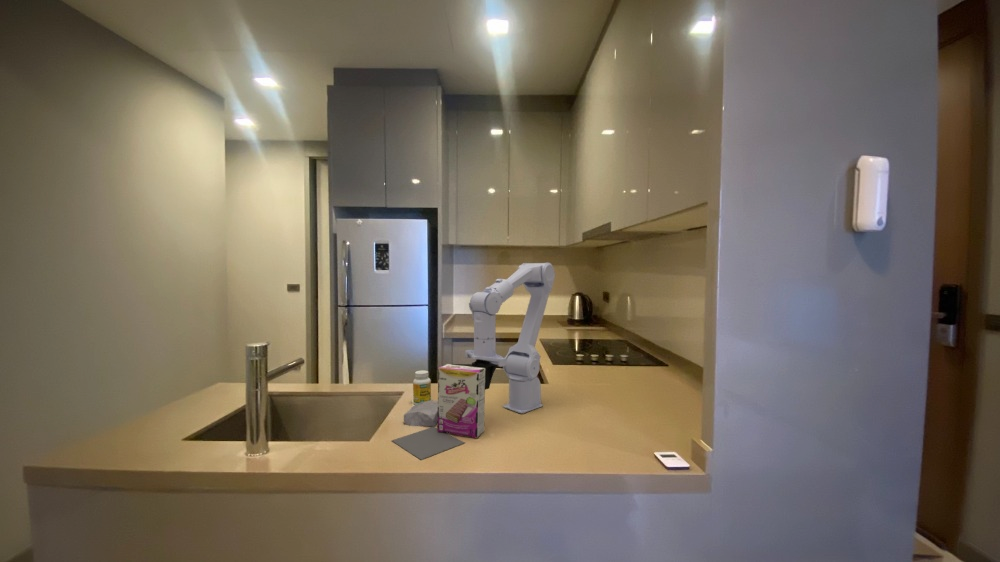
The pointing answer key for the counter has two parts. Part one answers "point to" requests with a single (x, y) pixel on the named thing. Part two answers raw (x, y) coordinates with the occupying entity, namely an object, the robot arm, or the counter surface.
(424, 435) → the mat
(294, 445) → the counter surface
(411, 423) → the stone block
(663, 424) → the counter surface
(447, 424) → the candy bar box
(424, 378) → the supplement bottle
